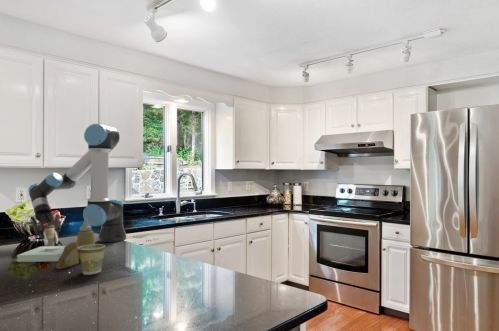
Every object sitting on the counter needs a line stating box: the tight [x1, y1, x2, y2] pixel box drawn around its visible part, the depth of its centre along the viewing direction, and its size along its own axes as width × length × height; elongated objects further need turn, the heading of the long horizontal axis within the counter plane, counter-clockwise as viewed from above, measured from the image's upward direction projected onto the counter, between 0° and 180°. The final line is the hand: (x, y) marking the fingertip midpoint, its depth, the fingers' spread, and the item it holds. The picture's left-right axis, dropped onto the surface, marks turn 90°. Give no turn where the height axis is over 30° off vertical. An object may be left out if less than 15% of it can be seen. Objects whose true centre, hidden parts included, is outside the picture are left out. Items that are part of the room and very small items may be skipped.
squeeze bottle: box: [76, 218, 96, 256], centre depth 165 cm, size 8×8×18 cm
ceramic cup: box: [77, 243, 106, 276], centre depth 143 cm, size 13×10×10 cm
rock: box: [55, 241, 80, 270], centre depth 152 cm, size 11×9×10 cm
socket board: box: [16, 245, 66, 263], centre depth 169 cm, size 18×18×3 cm
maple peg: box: [44, 224, 55, 246], centre depth 186 cm, size 4×4×12 cm
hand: (51, 242), depth 184 cm, fingers closed on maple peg, 4 cm apart
